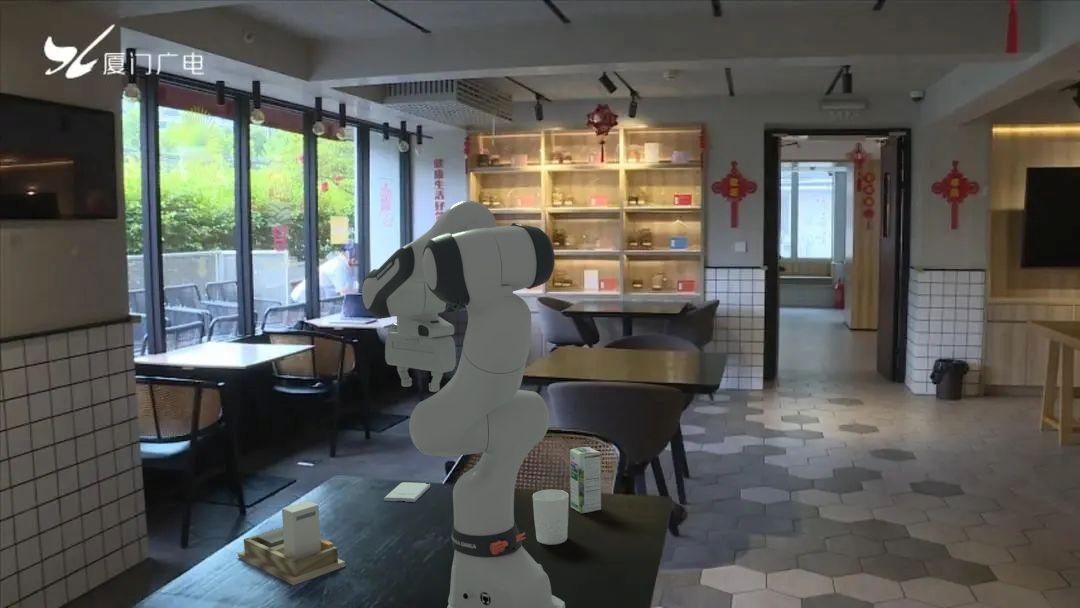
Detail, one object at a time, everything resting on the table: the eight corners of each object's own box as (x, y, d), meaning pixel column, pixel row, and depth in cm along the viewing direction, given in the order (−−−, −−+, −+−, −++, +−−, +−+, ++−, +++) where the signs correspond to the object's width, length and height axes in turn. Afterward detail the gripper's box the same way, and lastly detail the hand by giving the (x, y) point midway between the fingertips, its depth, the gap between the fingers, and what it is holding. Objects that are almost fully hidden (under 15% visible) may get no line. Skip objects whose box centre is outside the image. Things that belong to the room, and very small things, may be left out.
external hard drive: (430, 489, 230) (414, 504, 218) (401, 488, 232) (383, 502, 219) (430, 483, 230) (414, 497, 218) (400, 482, 231) (383, 496, 219)
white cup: (527, 542, 188) (526, 498, 187) (544, 530, 195) (542, 487, 194) (559, 548, 184) (558, 502, 183) (575, 535, 191) (574, 491, 190)
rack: (345, 566, 178) (344, 544, 177) (293, 585, 169) (291, 562, 169) (288, 541, 193) (287, 521, 192) (238, 557, 184) (236, 536, 184)
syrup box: (569, 507, 210) (568, 448, 209) (591, 503, 213) (589, 445, 211) (580, 514, 205) (579, 454, 204) (602, 510, 208) (601, 451, 206)
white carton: (321, 561, 178) (318, 504, 177) (295, 570, 174) (292, 512, 173) (310, 556, 181) (307, 500, 180) (285, 565, 177) (281, 508, 176)
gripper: (376, 324, 191) (379, 385, 192) (436, 330, 177) (439, 396, 179) (399, 321, 196) (402, 381, 197) (459, 326, 182) (462, 391, 183)
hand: (420, 388), depth 188 cm, fingers open, 8 cm apart
